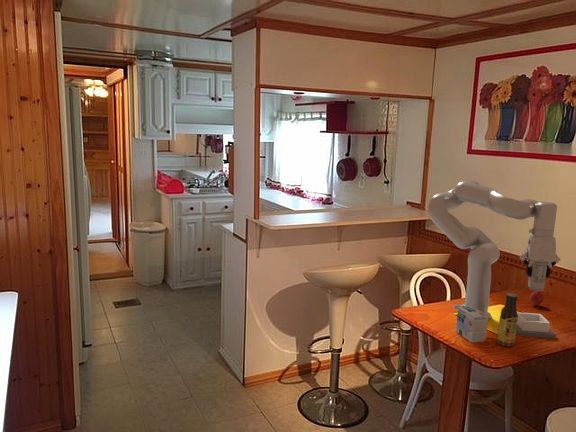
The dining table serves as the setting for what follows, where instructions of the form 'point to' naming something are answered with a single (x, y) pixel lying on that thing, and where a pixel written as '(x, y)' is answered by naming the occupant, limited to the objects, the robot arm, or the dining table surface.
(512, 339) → the sauce bottle
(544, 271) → the energy drink can
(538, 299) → the onion
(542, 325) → the board
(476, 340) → the light bulb box
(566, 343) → the dining table surface
